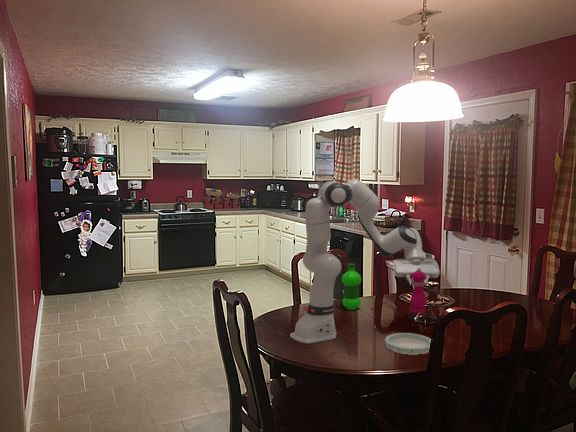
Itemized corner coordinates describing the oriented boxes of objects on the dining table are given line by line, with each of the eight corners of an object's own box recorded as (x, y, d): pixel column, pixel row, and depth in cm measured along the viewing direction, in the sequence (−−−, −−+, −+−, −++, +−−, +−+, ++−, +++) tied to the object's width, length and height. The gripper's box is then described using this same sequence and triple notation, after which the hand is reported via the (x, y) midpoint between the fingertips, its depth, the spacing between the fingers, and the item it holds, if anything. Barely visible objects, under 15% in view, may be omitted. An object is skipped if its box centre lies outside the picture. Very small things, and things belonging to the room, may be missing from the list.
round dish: (412, 358, 197) (412, 352, 197) (375, 344, 213) (375, 339, 213) (442, 347, 209) (442, 342, 209) (405, 335, 225) (405, 330, 225)
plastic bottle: (349, 305, 276) (349, 261, 274) (364, 308, 269) (364, 264, 267) (338, 308, 269) (338, 264, 267) (353, 312, 262) (353, 266, 259)
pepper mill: (417, 314, 216) (418, 269, 214) (406, 310, 223) (407, 267, 221) (430, 311, 219) (430, 268, 218) (418, 307, 226) (419, 265, 224)
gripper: (393, 254, 227) (396, 280, 218) (437, 255, 226) (442, 280, 217) (391, 262, 232) (394, 287, 223) (435, 263, 231) (439, 288, 222)
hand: (418, 284), depth 220 cm, fingers closed on pepper mill, 5 cm apart
